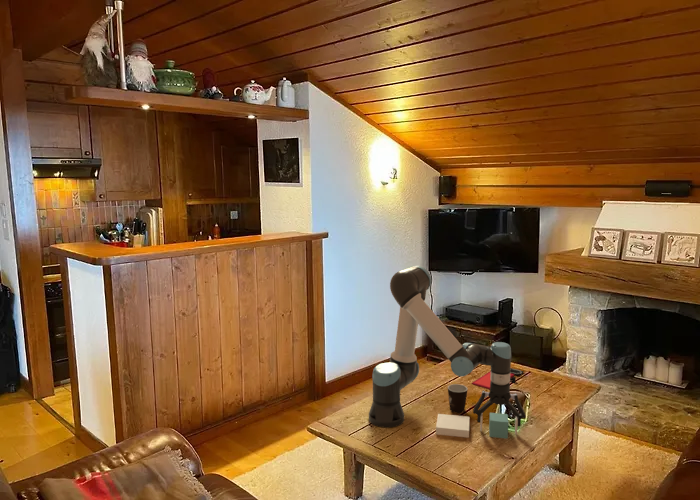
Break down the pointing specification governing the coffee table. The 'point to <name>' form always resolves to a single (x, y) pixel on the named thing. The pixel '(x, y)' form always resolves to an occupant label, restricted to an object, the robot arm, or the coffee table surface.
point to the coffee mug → (457, 397)
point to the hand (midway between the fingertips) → (498, 431)
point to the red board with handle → (485, 379)
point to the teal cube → (498, 425)
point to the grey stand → (452, 425)
